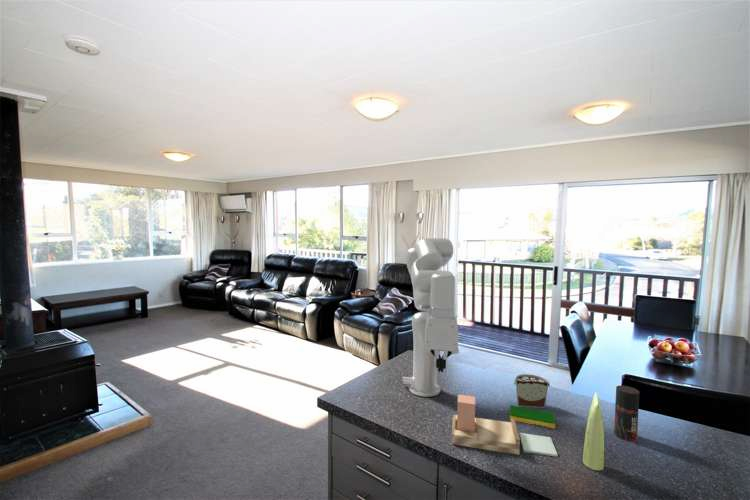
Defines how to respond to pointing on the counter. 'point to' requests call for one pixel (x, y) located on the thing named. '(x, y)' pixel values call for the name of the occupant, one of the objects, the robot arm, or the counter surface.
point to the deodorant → (626, 413)
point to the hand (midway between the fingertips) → (440, 370)
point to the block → (466, 413)
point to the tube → (594, 438)
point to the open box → (489, 435)
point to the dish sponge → (532, 416)
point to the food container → (531, 390)
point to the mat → (538, 444)
